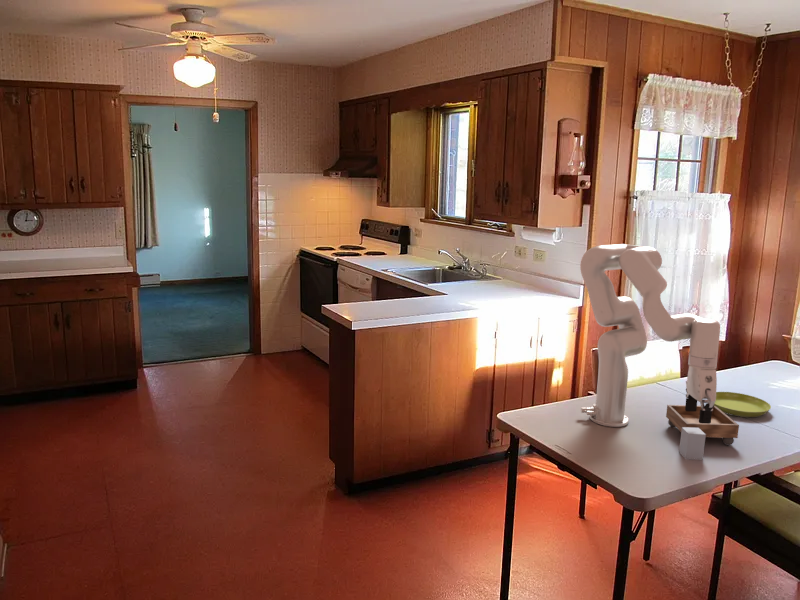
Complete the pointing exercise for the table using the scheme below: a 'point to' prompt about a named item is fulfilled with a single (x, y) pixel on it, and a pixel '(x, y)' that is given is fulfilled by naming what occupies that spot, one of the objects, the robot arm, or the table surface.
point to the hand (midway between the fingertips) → (697, 416)
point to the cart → (717, 427)
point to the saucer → (741, 404)
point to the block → (692, 443)
